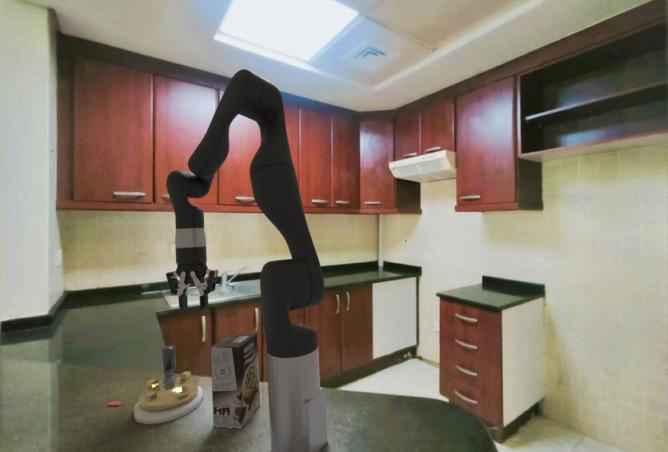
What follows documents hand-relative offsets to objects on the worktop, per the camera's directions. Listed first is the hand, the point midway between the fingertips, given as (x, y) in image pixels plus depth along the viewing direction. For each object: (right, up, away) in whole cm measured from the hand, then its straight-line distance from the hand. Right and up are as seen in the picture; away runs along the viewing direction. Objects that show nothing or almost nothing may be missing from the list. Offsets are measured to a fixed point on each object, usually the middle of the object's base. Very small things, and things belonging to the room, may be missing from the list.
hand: (193, 309), depth 83 cm
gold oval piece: (-2, -17, -8) cm, 19 cm away
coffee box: (+17, -18, -17) cm, 30 cm away
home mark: (-14, -20, -10) cm, 26 cm away
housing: (0, -19, -11) cm, 22 cm away
